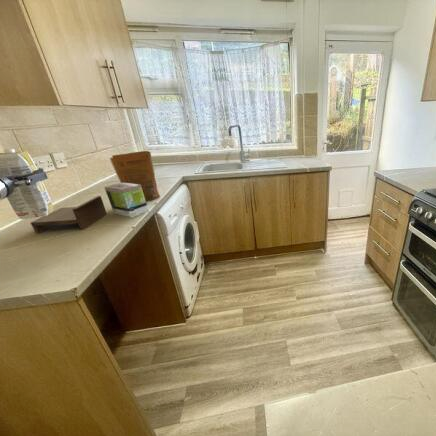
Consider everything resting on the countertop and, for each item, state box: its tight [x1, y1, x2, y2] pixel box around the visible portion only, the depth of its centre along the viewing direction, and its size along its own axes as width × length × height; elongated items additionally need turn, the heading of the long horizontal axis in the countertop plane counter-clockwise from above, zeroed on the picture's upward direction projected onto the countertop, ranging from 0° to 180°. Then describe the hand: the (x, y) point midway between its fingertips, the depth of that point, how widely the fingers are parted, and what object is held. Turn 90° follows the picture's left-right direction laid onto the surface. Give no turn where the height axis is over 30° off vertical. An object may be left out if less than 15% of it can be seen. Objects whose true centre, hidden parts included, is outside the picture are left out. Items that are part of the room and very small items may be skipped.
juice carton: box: [0, 148, 54, 220], centre depth 86 cm, size 9×8×24 cm
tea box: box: [104, 182, 149, 219], centre depth 123 cm, size 15×10×15 cm, turn 63°
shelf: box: [30, 195, 108, 234], centre depth 114 cm, size 20×18×10 cm
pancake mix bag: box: [109, 150, 161, 202], centre depth 138 cm, size 7×19×28 cm, turn 116°
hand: (24, 173), depth 89 cm, fingers closed on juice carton, 9 cm apart
